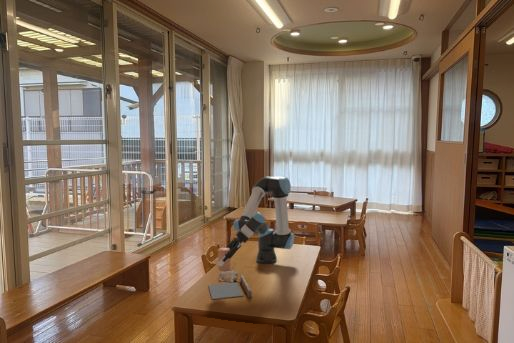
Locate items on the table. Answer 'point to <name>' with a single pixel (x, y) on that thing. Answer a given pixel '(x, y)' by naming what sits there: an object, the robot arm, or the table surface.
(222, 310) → the table surface
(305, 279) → the table surface
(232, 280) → the turtle
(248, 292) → the wooden plank
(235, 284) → the mat
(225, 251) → the pink rounded cylinder
